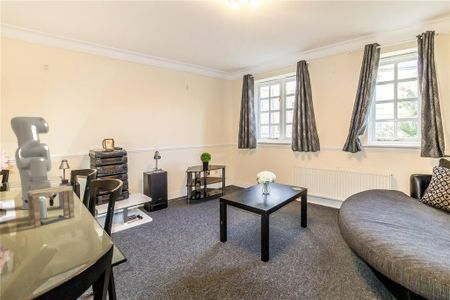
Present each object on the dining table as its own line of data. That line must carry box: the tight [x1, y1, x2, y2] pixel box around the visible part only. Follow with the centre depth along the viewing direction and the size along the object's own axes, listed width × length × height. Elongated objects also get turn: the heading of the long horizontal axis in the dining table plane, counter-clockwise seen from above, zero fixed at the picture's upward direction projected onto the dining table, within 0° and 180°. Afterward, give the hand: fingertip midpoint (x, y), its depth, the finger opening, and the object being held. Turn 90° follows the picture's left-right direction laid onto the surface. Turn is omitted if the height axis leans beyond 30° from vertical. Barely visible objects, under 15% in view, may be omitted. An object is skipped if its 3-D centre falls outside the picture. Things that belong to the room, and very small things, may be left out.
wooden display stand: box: [27, 185, 75, 229], centre depth 130 cm, size 9×18×18 cm, turn 145°
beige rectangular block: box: [57, 178, 75, 210], centre depth 157 cm, size 7×7×18 cm
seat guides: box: [40, 214, 67, 226], centre depth 131 cm, size 8×11×2 cm
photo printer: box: [38, 197, 48, 219], centre depth 139 cm, size 10×4×12 cm, turn 41°
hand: (41, 208), depth 139 cm, fingers open, 9 cm apart
